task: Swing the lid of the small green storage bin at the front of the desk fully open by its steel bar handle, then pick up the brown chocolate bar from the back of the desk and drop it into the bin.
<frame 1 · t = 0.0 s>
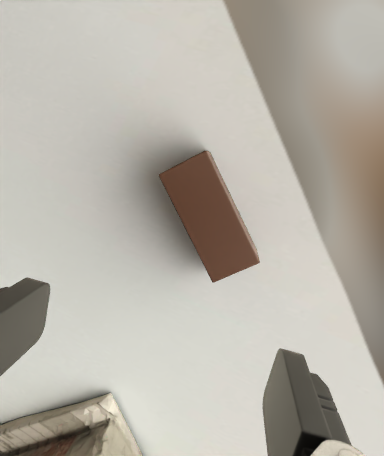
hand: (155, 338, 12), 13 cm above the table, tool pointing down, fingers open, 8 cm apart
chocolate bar: (212, 211, 24), on the table
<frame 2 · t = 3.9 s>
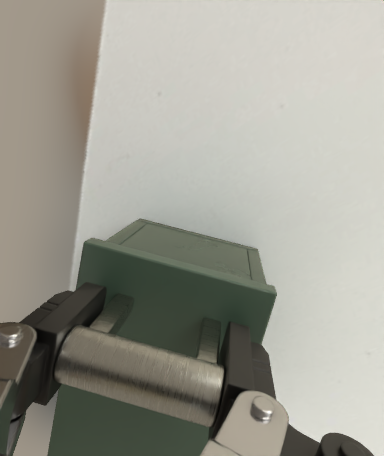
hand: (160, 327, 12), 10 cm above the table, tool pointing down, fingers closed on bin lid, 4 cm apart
green storage bin: (178, 311, 23), on the table
bin lid: (134, 430, 13), point 10 cm above the table, hinge at -0.1°, touching gripper
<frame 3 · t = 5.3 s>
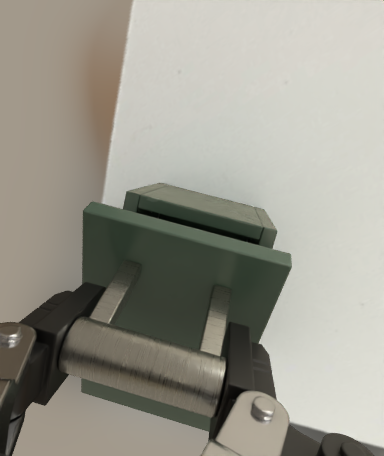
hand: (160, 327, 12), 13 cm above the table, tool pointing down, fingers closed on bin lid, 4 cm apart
green storage bin: (193, 267, 25), on the table
bin lid: (150, 382, 14), point 12 cm above the table, hinge at 21.1°, touching gripper
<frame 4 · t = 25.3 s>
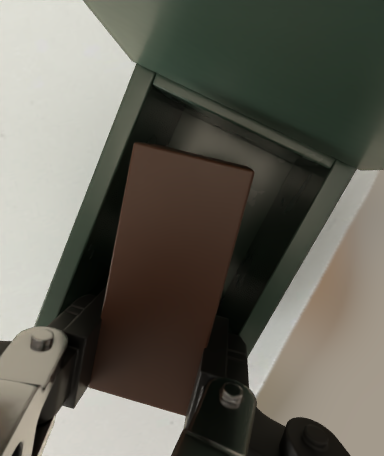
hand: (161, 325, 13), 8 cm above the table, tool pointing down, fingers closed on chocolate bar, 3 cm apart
green storage bin: (199, 218, 19), on the table
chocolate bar: (179, 258, 13), point 7 cm above the table, touching gripper
when the fingers open (9 cm above the table, at t = 31.5 s): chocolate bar drops 8 cm, resting on green storage bin.
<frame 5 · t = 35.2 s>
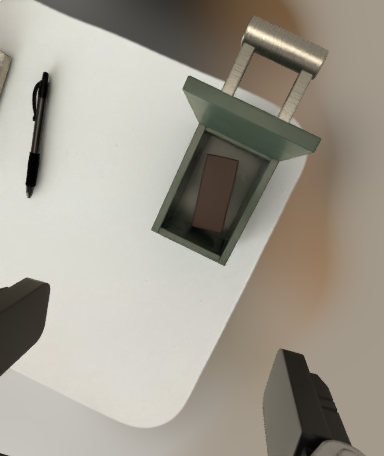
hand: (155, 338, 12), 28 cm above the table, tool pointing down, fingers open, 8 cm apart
green storage bin: (217, 187, 38), on the table
bin lid: (260, 96, 23), point 14 cm above the table, hinge at 93.4°
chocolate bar: (216, 191, 38), point 1 cm above the table, touching green storage bin
pen: (38, 137, 40), on the table
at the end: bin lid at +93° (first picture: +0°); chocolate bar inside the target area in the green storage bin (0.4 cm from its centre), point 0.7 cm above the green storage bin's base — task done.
